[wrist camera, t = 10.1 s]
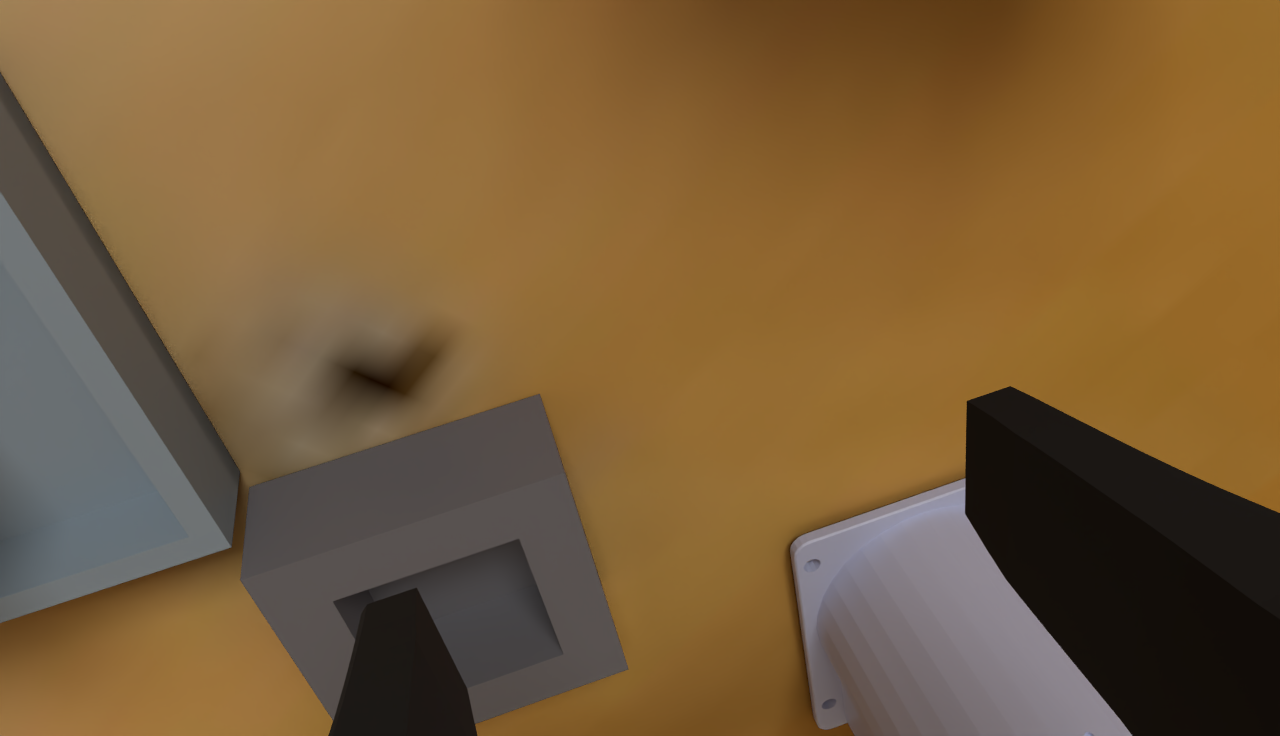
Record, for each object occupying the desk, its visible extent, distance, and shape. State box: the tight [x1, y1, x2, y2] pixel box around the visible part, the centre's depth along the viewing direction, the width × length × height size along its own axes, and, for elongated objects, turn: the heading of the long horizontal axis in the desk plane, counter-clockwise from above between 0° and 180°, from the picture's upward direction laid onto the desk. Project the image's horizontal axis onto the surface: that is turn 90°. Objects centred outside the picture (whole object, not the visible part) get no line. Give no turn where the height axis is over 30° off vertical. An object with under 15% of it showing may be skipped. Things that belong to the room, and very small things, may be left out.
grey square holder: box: [240, 394, 628, 724], centre depth 23 cm, size 7×7×3 cm
